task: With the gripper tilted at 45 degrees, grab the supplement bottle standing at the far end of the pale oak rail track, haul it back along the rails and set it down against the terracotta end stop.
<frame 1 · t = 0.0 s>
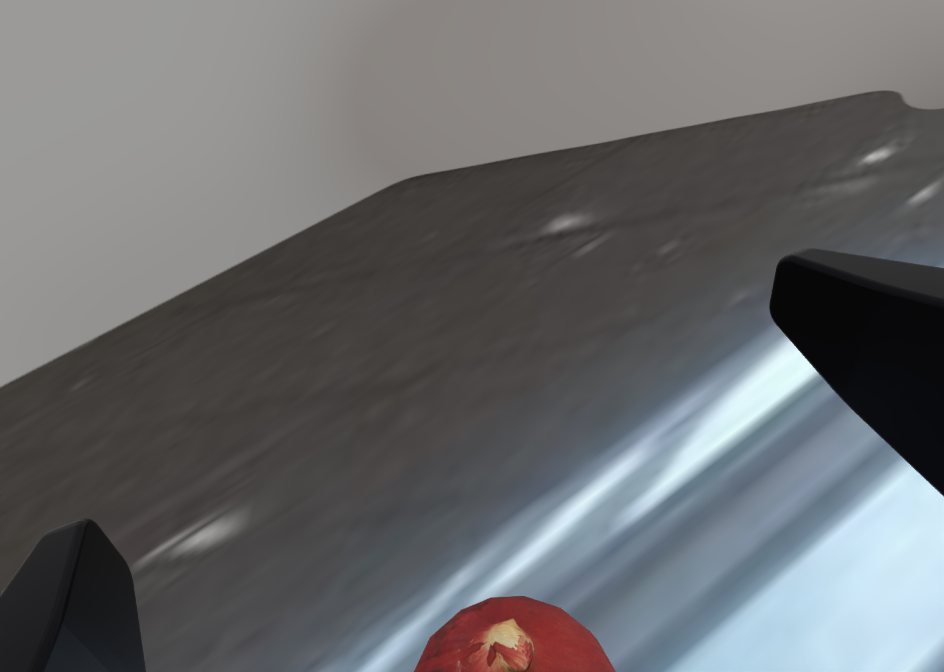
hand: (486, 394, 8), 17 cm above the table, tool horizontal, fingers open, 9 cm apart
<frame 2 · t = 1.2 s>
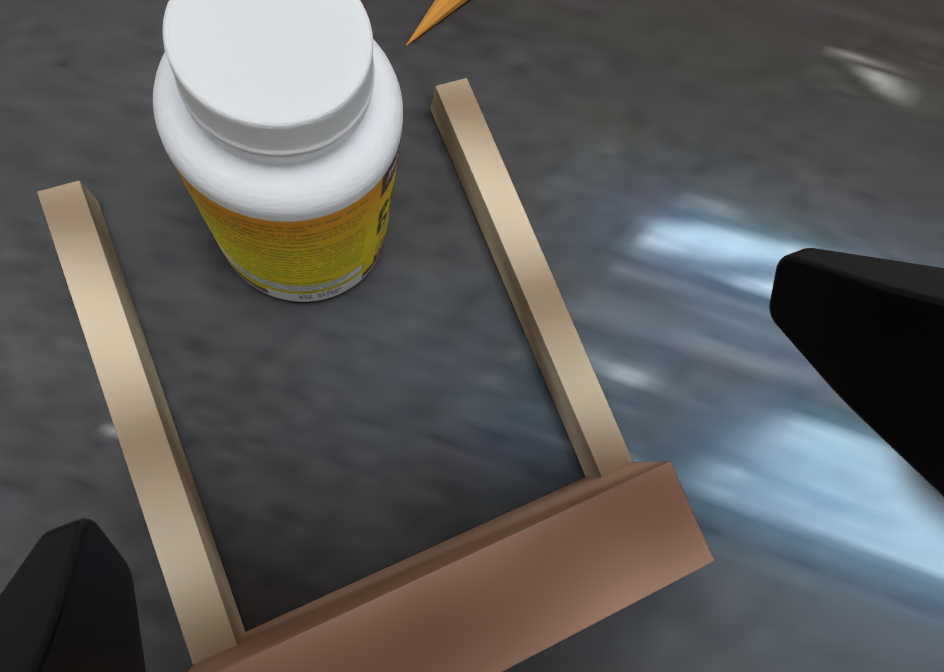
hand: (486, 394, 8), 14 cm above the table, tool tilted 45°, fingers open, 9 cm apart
supplement bottle: (305, 230, 22), on the table
rail track: (366, 390, 21), on the table
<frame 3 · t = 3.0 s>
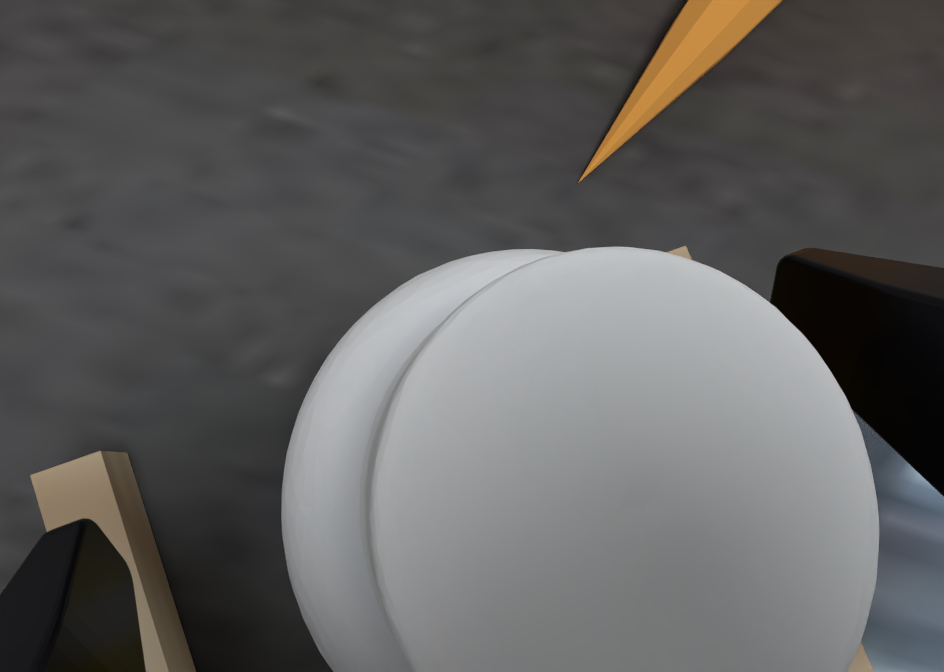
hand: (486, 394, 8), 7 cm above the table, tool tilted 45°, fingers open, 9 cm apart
supplement bottle: (441, 479, 15), on the table
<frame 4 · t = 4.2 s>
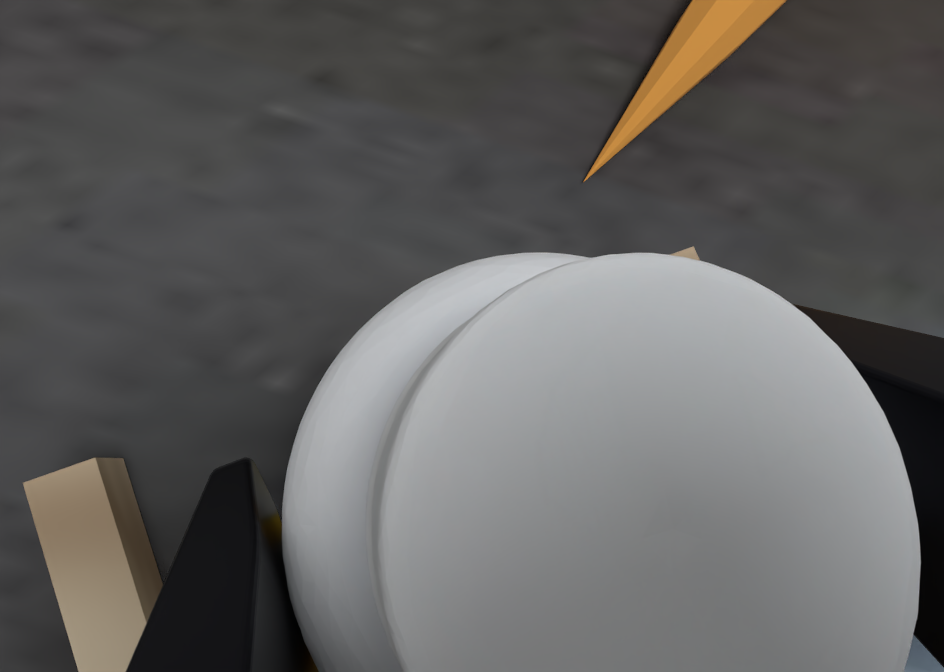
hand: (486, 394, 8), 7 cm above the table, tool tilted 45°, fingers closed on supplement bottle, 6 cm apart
supplement bottle: (444, 485, 14), on the table, touching gripper
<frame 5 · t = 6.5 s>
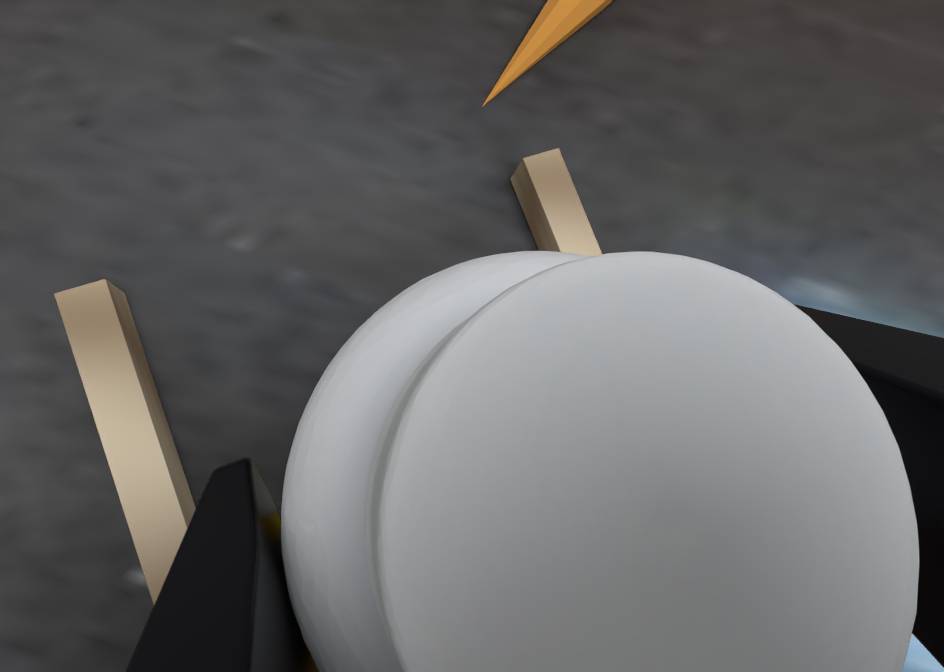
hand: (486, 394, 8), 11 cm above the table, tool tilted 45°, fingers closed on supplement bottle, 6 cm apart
supplement bottle: (443, 483, 14), point 4 cm above the table, touching gripper
rail track: (438, 521, 18), on the table
when the fingers open (7 cm above the table, at t = 8.9 s): supplement bottle stays where it is, on the table.
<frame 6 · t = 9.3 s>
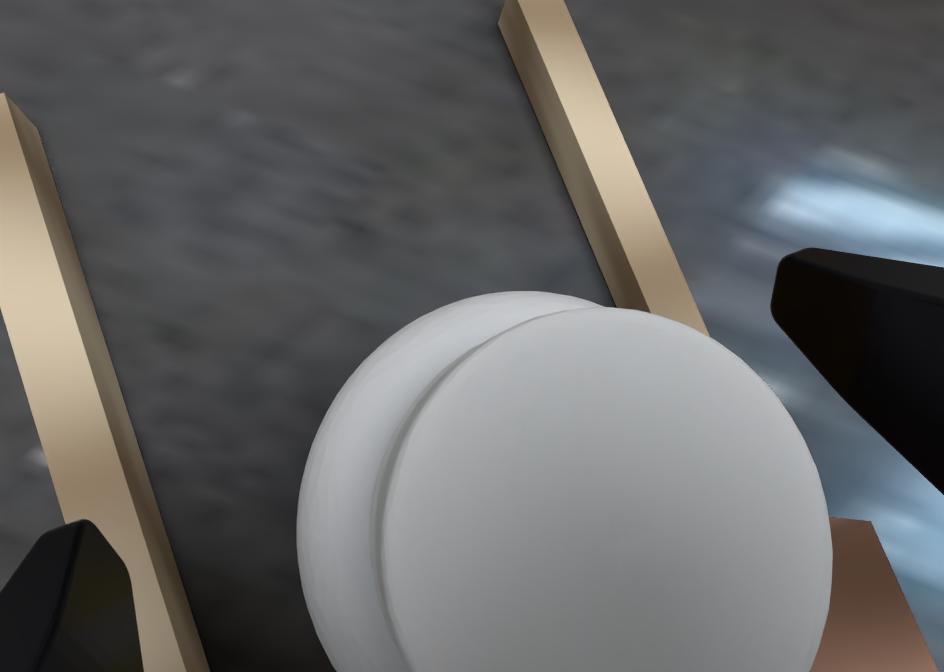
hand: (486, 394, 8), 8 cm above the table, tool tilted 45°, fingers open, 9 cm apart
supplement bottle: (441, 491, 15), on the table
rail track: (411, 403, 15), on the table
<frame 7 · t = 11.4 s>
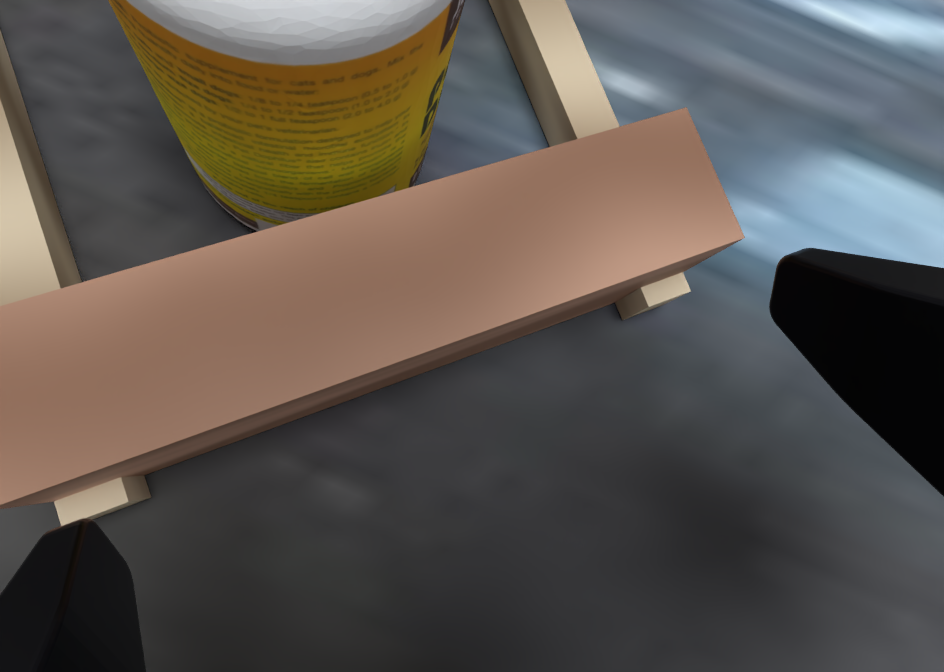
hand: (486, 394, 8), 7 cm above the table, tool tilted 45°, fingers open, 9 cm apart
supplement bottle: (312, 147, 16), on the table
rail track: (283, 65, 16), on the table
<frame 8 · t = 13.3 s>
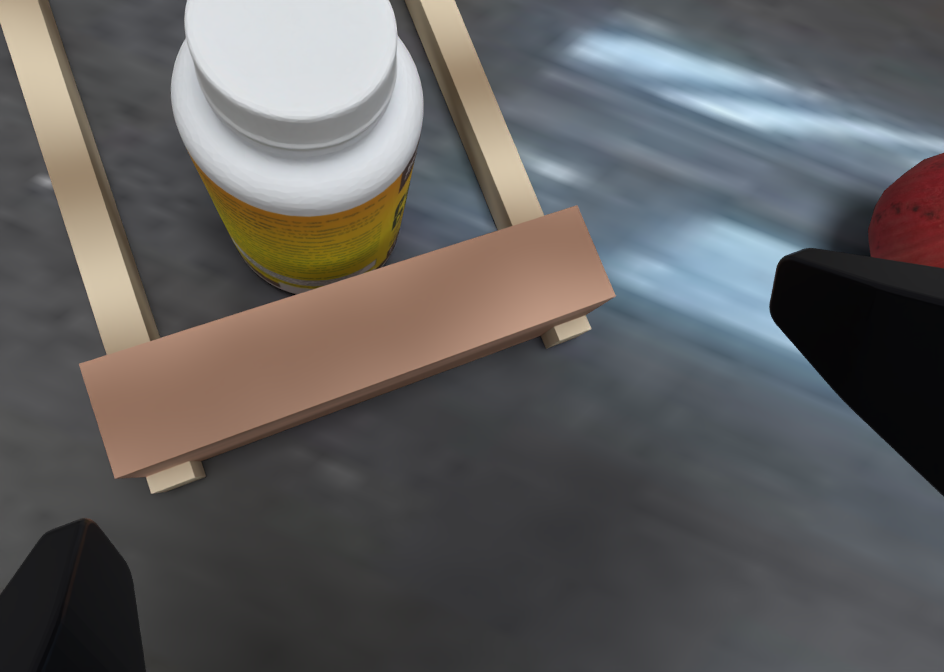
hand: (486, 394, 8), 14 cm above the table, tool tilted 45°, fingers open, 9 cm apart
red round piece: (878, 266, 26), on the table
supplement bottle: (317, 224, 22), on the table
rail track: (297, 164, 22), on the table
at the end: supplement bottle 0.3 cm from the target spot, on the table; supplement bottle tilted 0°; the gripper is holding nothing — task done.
